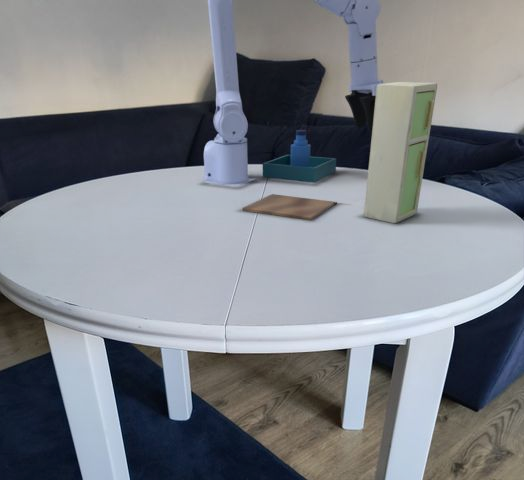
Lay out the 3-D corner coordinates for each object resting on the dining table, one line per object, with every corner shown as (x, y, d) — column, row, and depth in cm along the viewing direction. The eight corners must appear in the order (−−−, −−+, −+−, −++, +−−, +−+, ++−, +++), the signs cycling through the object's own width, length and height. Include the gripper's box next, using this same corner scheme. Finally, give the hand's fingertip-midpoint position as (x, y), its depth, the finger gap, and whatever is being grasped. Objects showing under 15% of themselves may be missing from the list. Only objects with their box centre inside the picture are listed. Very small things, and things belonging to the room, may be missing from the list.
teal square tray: (262, 179, 114) (262, 163, 112) (287, 169, 124) (287, 154, 122) (314, 185, 109) (314, 168, 107) (335, 174, 119) (336, 158, 117)
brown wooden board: (242, 210, 91) (242, 208, 91) (272, 196, 100) (272, 194, 100) (310, 220, 85) (310, 217, 85) (335, 204, 94) (335, 201, 94)
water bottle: (287, 175, 115) (287, 131, 110) (295, 171, 119) (296, 128, 114) (304, 176, 113) (306, 132, 108) (312, 173, 117) (314, 129, 112)
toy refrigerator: (399, 225, 82) (418, 84, 72) (362, 217, 87) (375, 83, 76) (421, 215, 87) (442, 82, 77) (385, 208, 92) (400, 81, 81)
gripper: (395, 56, 98) (397, 128, 105) (368, 56, 110) (371, 120, 117) (362, 63, 97) (366, 135, 105) (338, 62, 109) (343, 127, 117)
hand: (367, 128), depth 111 cm, fingers open, 7 cm apart
